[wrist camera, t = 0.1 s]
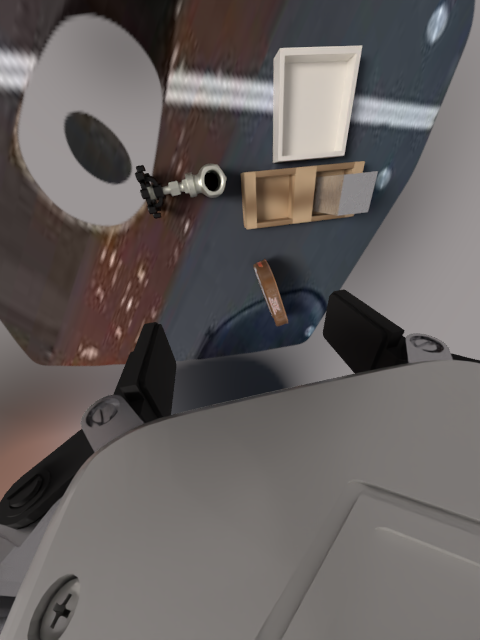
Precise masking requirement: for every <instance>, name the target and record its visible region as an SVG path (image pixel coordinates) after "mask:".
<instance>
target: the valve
mask: <svg viewBox="0 0 480 640" xmlns="http://www.w3.org/2000/svg"><path fill="white" fill-rule="evenodd" d="M136 169H137V172H136V173H135V175H136V178H137V180H138V182H139V183H140V184H141V188H142V190H140V192H141V195H142V198H143V199H146V201H147V204H148V211H149V213H150V214H153V216H154V218H155V219H156V218H161V213H157V211H161V207H162V205H163V199H166V194H172V196H175V195H180V194H181V192H185V193H190V196H191V197H196V196H197V194H198V193H203V194H204V195H206V196H208V197H211V198H215V197H218V196H220V195H221V194H222V193H223V191H224V189H225V185H226V179H227V178H226V176H225V175H224V173H223V171H222V170H221V168H220V167H219V166H218V165H215V164H207V165H205V166H203V167H202V168H201V169H200V171H199V173H198V174H197V175H192V173H187V174H185V177H186V179H185V180H182V182H181V183H178V181H175V182H169V183H168V184H169V186H164V187H163V186H162V184H161V183H158V182H157V181H156V179H155V178H154V177H152V176H150V175H149V173H146V174H144V173H143V171H145V167H144V166H143V165H141V166H137V167H136ZM210 172H211V173H214V174H215V175H216V176H217V178H218V186H217V188H216V189H215V190H214V191H210V190H208V189H207V187H206V186H205V183H204V176H205V174H207V173H210ZM149 181H151V182H153V184H152V185H150V182H149ZM156 200H159V202H158V203H157V202H156Z"/></svg>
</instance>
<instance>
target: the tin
mask: <svg viewBox="0 0 480 640" xmlns="http://www.w3.org/2000/svg"><path fill="white" fill-rule="evenodd" d="M254 270H255V273H256V275H257V278H258V281H259V284H260V287H261V289H262V292H263V295H264V297H265V300H266V302H267V305H268V307H269V310H270V312H271V315H272V317H273V318H274V320H275V323H276V326H280V325H283V324H286V323H288V319H287V315H286V312H285V309H284V306H283V303H282V299H281V296H280V293H279V290H278V287H277V284H276V281H275V278H274V276H273V273H272V271H271V268H270V266H269V264H268V262H267V261H266V259H264V260H262V261H260V262H258V263H256V264H254Z"/></svg>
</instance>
